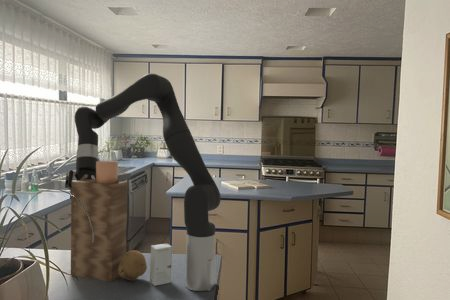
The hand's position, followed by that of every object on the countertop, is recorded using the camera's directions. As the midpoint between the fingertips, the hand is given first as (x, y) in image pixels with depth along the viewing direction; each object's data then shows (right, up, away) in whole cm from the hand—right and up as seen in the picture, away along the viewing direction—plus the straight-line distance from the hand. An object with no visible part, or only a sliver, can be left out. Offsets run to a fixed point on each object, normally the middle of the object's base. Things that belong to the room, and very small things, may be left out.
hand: (85, 202), depth 124 cm
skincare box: (+28, -26, -8) cm, 39 cm away
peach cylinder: (+11, +8, -1) cm, 13 cm away
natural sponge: (+19, -25, -7) cm, 32 cm away
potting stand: (+6, -24, -3) cm, 25 cm away
